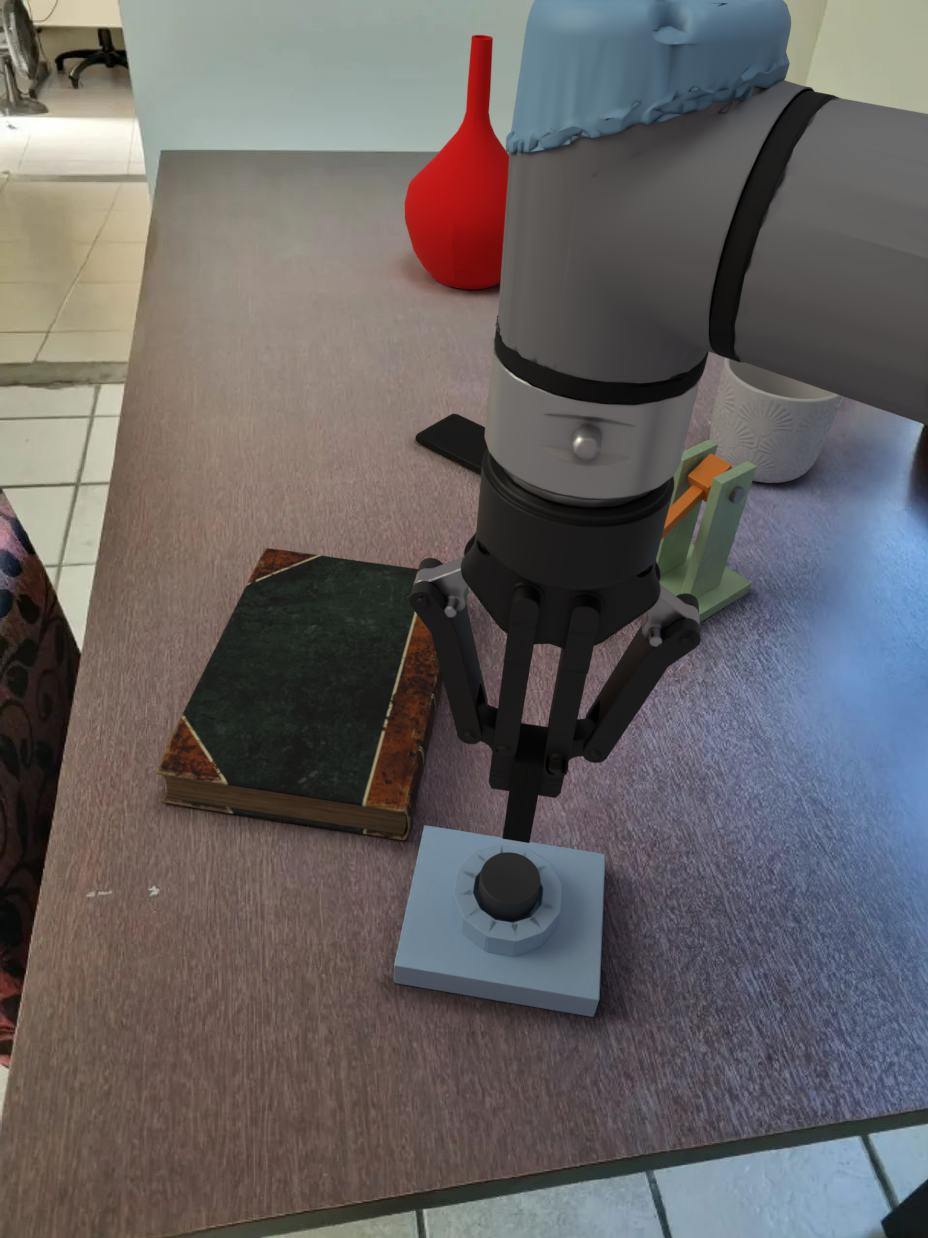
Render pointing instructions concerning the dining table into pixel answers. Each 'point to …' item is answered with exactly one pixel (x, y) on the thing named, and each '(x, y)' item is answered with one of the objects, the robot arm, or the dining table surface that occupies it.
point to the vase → (463, 192)
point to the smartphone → (456, 440)
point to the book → (312, 700)
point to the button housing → (504, 925)
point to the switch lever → (695, 490)
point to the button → (509, 886)
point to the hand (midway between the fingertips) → (518, 820)
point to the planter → (770, 421)
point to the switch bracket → (706, 536)
